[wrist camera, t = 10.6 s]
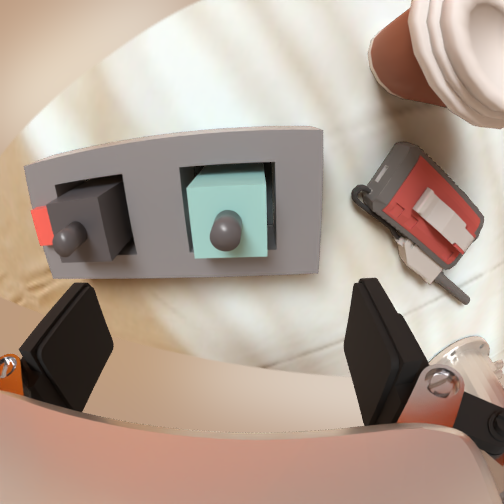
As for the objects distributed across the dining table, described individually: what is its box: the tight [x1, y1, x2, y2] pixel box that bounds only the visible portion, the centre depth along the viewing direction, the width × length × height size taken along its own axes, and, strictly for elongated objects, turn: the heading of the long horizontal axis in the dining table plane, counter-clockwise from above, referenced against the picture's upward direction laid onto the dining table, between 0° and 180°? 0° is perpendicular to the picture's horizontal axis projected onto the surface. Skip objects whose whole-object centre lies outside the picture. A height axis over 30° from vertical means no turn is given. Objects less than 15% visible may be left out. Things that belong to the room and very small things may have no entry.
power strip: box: [24, 126, 323, 279], centre depth 20 cm, size 22×10×9 cm, turn 92°
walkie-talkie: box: [351, 142, 484, 305], centre depth 23 cm, size 9×4×20 cm
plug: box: [187, 163, 267, 259], centre depth 20 cm, size 4×4×9 cm
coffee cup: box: [368, 0, 504, 129], centre depth 13 cm, size 9×9×12 cm
